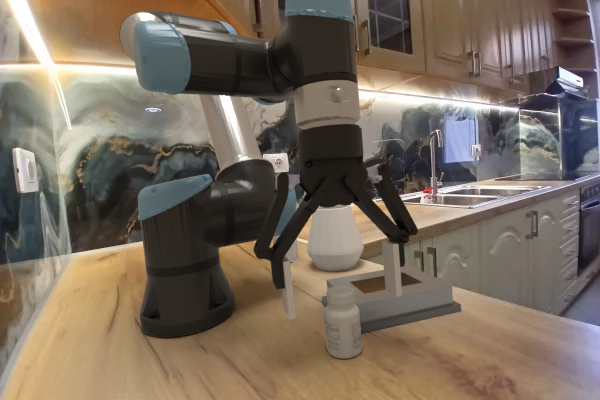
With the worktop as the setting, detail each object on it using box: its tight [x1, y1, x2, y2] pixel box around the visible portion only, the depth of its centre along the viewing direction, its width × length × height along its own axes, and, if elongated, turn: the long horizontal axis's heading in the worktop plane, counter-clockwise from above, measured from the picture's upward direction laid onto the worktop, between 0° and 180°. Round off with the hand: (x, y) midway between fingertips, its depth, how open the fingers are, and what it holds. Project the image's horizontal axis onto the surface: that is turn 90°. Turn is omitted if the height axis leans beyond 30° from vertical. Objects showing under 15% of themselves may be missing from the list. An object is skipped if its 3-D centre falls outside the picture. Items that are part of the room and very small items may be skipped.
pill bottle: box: [323, 286, 363, 360], centre depth 40 cm, size 4×4×8 cm
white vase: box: [306, 205, 365, 272], centre depth 75 cm, size 13×13×14 cm
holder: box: [321, 264, 462, 334], centre depth 51 cm, size 18×12×4 cm, turn 105°
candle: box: [272, 235, 299, 262], centre depth 82 cm, size 6×6×15 cm
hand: (344, 303), depth 39 cm, fingers open, 13 cm apart
